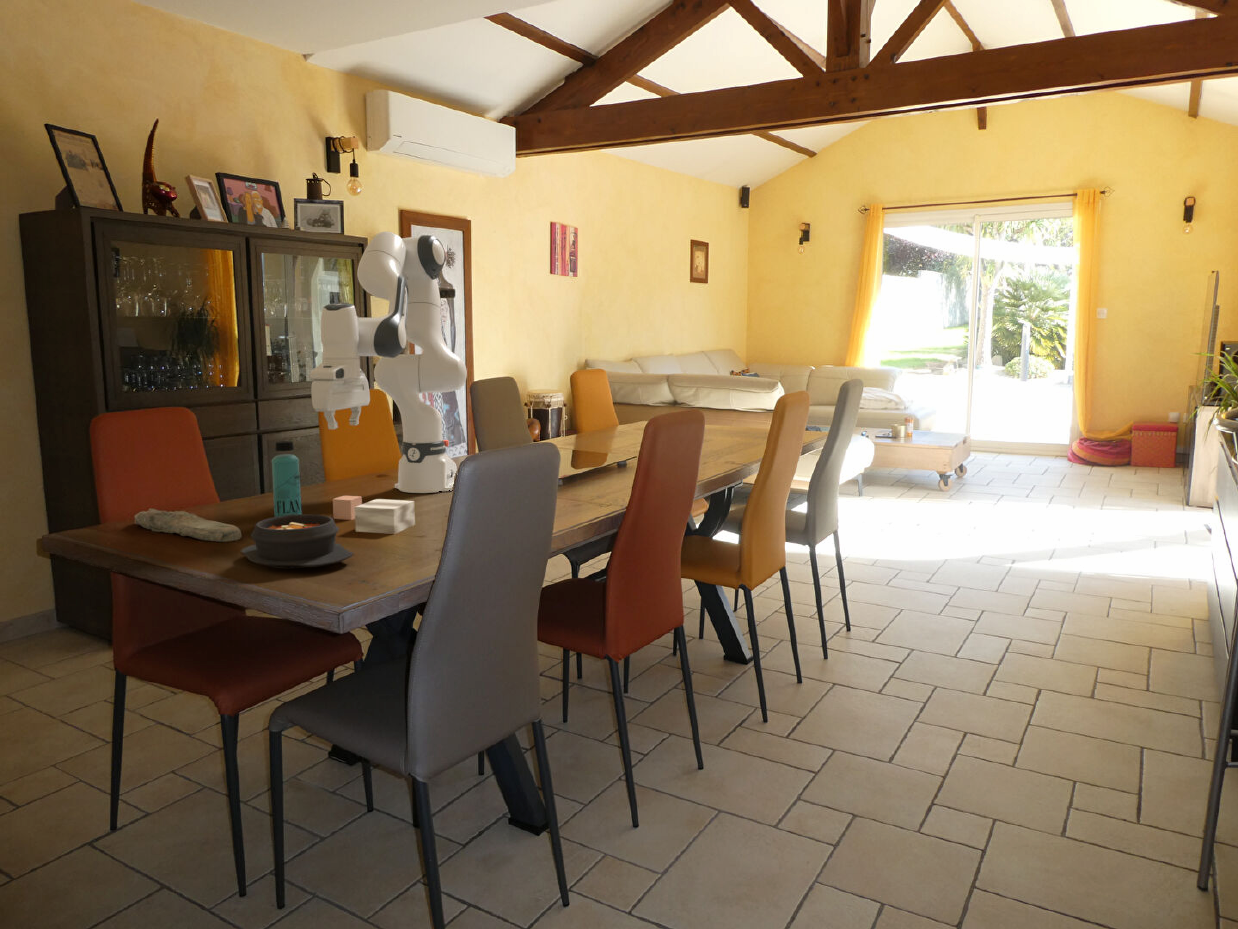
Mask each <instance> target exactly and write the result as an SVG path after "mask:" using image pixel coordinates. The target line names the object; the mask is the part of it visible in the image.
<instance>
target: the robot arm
mask: <svg viewBox="0 0 1238 929" xmlns="http://www.w3.org/2000/svg"><path fill="white" fill-rule="evenodd" d="M445 252H446V251H445V248H444V245H443V244H442V242H441V241H440V240H439V238H437V237H436V236H434V235H428V234H424V235H423V234H422V235H420V236H412V237H411V236H410V237H409V236H408V237H403V238H401V237H400V235H398V234H396V233H394V232H392V231H381V232H378V233H377V234H375V235H374V236H373V237H372V238H371V240H370V242H369V243H368V244H367V246H366V247H365V249H364V252H363V254H362V255H361V258H360V261H359V263H358V267H357V274H356V276H357V279H358V283H359V284H360V286H361V287H362V288H363V290H364V291H365V292H367V293H368V294H370V295H371V296H372V297H374V298H378V299H382V300H385V301H388V312H387V314H386V315H384V316H378V317H362V316H361V317H359V316H358V315H357V310H356V307H355V305H354V304H352V303H349V302H334V303H329V304H326V305H325V306H323V307H322V311H321V317H320V343H321V344H322V354H321V363H320V364H318V365H317V366H316V367H314V368H312V370H310V372H309V376H310V379H311V380H313V381H312V383H311V388H310V390H311V404H312V408H313V409H314V411H315V412H323V416H324V418H325V420H326V422H327V429H328V430H337V429H338V428H339V425H338V421H336V419H335V416H336V411H341V410H346V409H350V411H351V415H350V417H349V418H348V419H349V420H348V421H349V425H350V426H357V425H359V424H360V423H359V422H360V416H361V412H362V407H365V406H369V405H370V402H371V394H370V387H369V381H368V379H367V377H366V373H364V371H363V369H361V359H360V357H380V358H379V359H378V361H377V362H376V363H375V366H374V370H373V377H374V380H375V383H376V385H377V386H378V388H379V389H380V390H381V391H382V392H384V393H386V394H387V395H388V396H389V397H390V398H391V399H392V400H393V401H394V403H395V404H396V406H397V408H398V410H399V413H400V418H401V424H402V437H403V438H402V441H401V454H402V457H401V458H400V459H399V460H398V472H397V473H398V474H397V475H398V476H397V483H395V484H394V488H395V489H398V490H399V491H400V492H402V493H409V494H410V493H411V494H428V493H429V494H430V493H431V494H432V493H440V492H439V491H442V492H453V491H452V487H453V484H454V476H455V473H456V471H457V472H458V467H457V464H456V462H454V460H453V459H452V458H451V457H450V456H449V455H448V454H447V453H446V452H447V449H446V448H448V447H449V446H450V443H449V442H450V441H449V440H448V439H443V419H442V418H443V417H442V414H441V413H440V411H439V410H438V409H437V408H435V407H434V406H431V405H430V404H427V403H425V402H424V401H422V400H421V398H420V394H425V393H426V394H429V393H430V394H433V393H435V394H438V393H439V394H442V393H450V392H454V391H459V390H461V389H462V387H463V386H464V385H465V384H466V381H467V376H468V373H467V372H468V371H467V366H466V364H465V363H464V361H463V360H462V359H461V357H459V355H457V354H455V353H454V352H453V351H452V350H451V349H450V348H449V347H448V345H447V344H446V341H445V339H444V336H443V332H442V321H441V320H442V318H441V316H442V314H441V313H442V312H441V310H442V309H441V308H442V307H441V306H442V305H441V295H440V287H439V285H438V280H437V278H438V277H439V276H440V274H441V271H442V270H443V267H444V265H445V261H446V253H445ZM407 341H408V342H409V343H410V344H413V345H415V346H417V347H419V348H421V349H422V350H423V353H420V354H416V353H415V354H414V353H413V354H411V353H410V354H406V353H405V354H403V353H402V352H403V351H404V350H405V349H406V347H407ZM401 353H402V354H401ZM449 490H450V491H449Z"/></svg>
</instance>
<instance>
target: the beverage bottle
mask: <svg viewBox="0 0 1238 929" xmlns="http://www.w3.org/2000/svg"><path fill="white" fill-rule="evenodd" d="M294 447H295V446H294V442H293V441H291V440H281V441H276V442H275V448H274V449H275V451H276V452H289V451H294V450H295V448H294ZM271 470H272V471H271V472H272V488H273V492H272V493H273V494H272V495H273V496H272V498H273V500H272V501H273V502H272V503H273V512H274V513H273V515H274V517H279V516H286V515H298V514H303V506H302V501H303V500H302V492H301V474H300V459H299V457H297V456H296V455H295V454H290V453H289V454H285V453H284V454H279V455H277V454H276V455H275V456H274V457H273V458H272V459H271Z"/></svg>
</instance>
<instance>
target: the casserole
mask: <svg viewBox="0 0 1238 929" xmlns="http://www.w3.org/2000/svg"><path fill="white" fill-rule="evenodd" d="M339 531H340V527H339V526H337V524H336V522H335V519H334V517H331V516H327V515H322V514H314V513H313V514H311V513H310V514H308V513H306V514H304V513H302V514H298V515H286V516H279V517H275V516H274V517H273V516H272V517H271V518H266V519H262V520H260V521H258V522H257V523H256V524H255V525H254V529H253V531H252V532H251V533H250V538H252V540H254V543H255V544H252V545H249V546H245V547H243V548H242V549H241V550H240V553H241V554H242V555H244V556H246V558H247V560H249V561H250V562H253V563H255V564H257V565H264V566H267V567H271V568H276V569H277V568H278V569H300V568H309V567H310V568H312V567H313V568H315V567H316V568H317V567H321V566H327V565H333V564H336V563H340V562H343V561H345V560H347V559H350V558H352V557H353V556H354V552H353V551H350V550H348V549H346V548H345V547H343V545H341V544H339V543H336V539H337V534H338V532H339Z"/></svg>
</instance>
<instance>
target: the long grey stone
mask: <svg viewBox="0 0 1238 929" xmlns="http://www.w3.org/2000/svg"><path fill="white" fill-rule="evenodd" d="M133 518H134V523H135V524H136V525H138V526H141V527H142V528H144V529H145V528H146V529H147V530H151V532H157V533H165V534H175V533H176V534H177V535H180V536H182V537H191V538H195V539H198V540H203V541H206V542H210V541H211V542H217V543H218V542H221V543H222V542H223V543H227V542H235V541H239V540H240V539H241V538H242V536H243V535H242V531H241V529H240V528H239V527H238V526H236V525H234V524H230V523H229V524H228V523H224V522H219V521H215V520H209V519H206V518H203V517H200V516H198V515H196V514H195V513H189V512H186V511H185V510H181V511H180V510H179V511H178V510H175V511H166V510H157V509H155V508H149V509H148V510H147V511H144V510H143V511H140V512H138V513H137V514H134V517H133Z"/></svg>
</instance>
